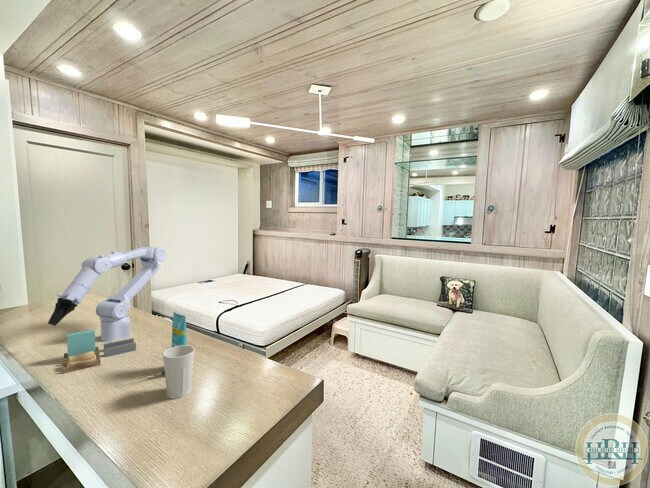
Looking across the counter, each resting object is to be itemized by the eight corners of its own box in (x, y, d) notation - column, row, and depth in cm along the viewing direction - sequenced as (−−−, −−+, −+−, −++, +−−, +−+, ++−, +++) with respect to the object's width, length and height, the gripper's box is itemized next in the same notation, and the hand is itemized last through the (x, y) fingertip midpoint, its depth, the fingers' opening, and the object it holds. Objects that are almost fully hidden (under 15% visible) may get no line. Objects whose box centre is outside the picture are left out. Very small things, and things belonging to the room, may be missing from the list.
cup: (187, 381, 85) (187, 342, 85) (199, 391, 80) (199, 350, 80) (158, 392, 79) (158, 351, 79) (170, 404, 74) (170, 360, 74)
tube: (165, 371, 91) (165, 313, 89) (179, 365, 95) (179, 309, 94) (179, 378, 87) (179, 317, 86) (193, 371, 91) (193, 313, 90)
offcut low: (95, 360, 94) (95, 354, 94) (96, 364, 92) (96, 358, 92) (67, 366, 90) (67, 361, 90) (67, 371, 87) (67, 365, 87)
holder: (133, 346, 108) (133, 337, 108) (136, 352, 103) (136, 343, 102) (103, 352, 102) (103, 343, 102) (105, 360, 97) (105, 350, 96)
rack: (98, 353, 101) (98, 345, 101) (100, 367, 92) (100, 358, 91) (64, 360, 95) (64, 352, 95) (63, 376, 86) (62, 367, 85)
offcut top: (92, 355, 94) (92, 350, 94) (95, 358, 92) (94, 353, 92) (68, 361, 89) (68, 356, 89) (70, 364, 87) (70, 359, 87)
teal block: (95, 354, 98) (94, 329, 98) (95, 356, 96) (94, 331, 96) (68, 360, 94) (67, 333, 93) (67, 363, 92) (67, 336, 91)
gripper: (65, 285, 103) (36, 321, 95) (69, 277, 93) (38, 316, 86) (86, 293, 106) (61, 328, 99) (92, 286, 97) (64, 324, 89)
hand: (52, 323), depth 92 cm, fingers open, 7 cm apart
